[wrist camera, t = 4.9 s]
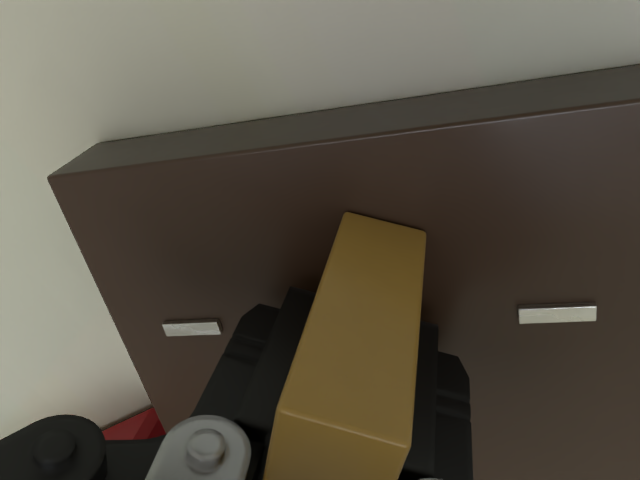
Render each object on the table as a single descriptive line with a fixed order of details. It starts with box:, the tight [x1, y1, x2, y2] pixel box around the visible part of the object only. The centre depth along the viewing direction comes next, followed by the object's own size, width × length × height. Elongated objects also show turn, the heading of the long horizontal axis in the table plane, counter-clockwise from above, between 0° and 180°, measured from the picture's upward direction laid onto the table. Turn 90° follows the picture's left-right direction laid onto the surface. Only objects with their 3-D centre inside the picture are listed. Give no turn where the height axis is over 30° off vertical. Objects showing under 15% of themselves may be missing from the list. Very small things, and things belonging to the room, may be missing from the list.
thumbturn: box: [263, 212, 426, 480], centre depth 10 cm, size 5×2×5 cm, turn 170°
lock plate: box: [47, 65, 640, 480], centre depth 13 cm, size 12×10×2 cm
